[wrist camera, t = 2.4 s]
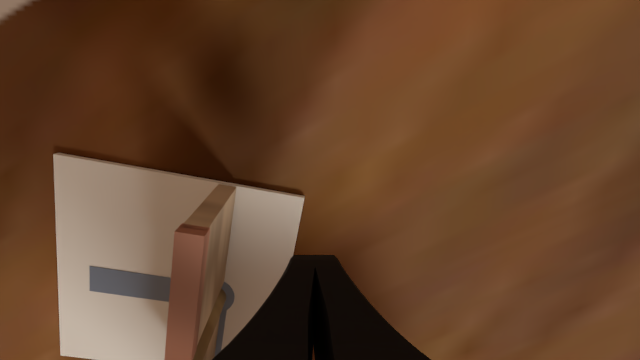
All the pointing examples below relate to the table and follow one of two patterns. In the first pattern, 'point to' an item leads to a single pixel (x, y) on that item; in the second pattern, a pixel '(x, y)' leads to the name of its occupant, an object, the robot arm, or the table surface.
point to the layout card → (153, 254)
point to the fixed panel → (210, 331)
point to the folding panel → (198, 271)
